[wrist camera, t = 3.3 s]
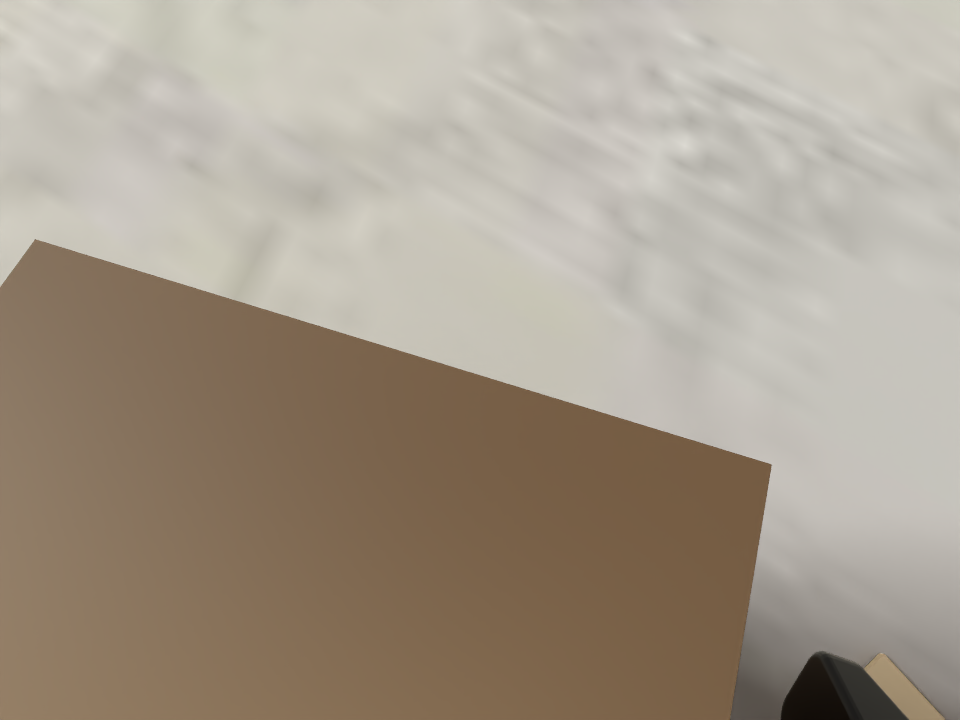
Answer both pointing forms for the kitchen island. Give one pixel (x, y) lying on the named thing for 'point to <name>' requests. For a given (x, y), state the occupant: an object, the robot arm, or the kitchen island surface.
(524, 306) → the kitchen island surface
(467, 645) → the walnut stamp
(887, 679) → the board
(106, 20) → the kitchen island surface
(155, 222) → the kitchen island surface
